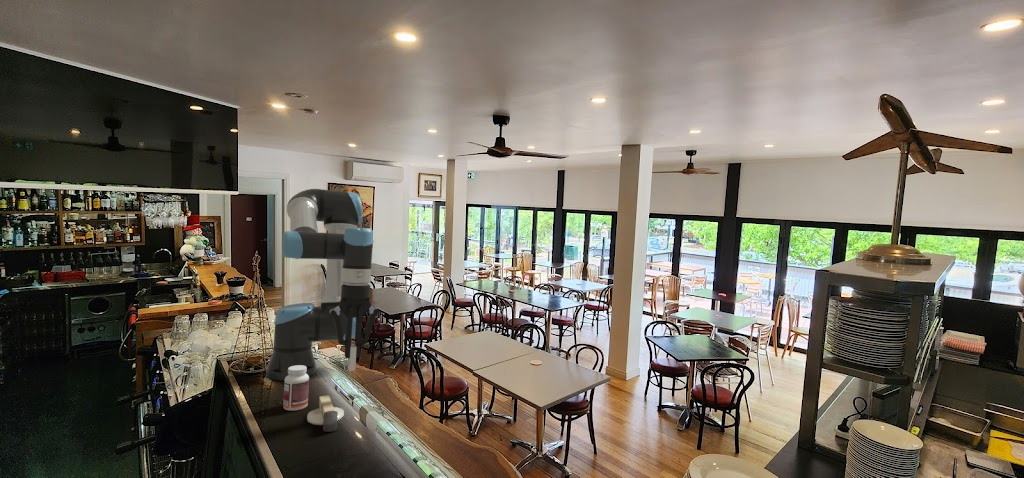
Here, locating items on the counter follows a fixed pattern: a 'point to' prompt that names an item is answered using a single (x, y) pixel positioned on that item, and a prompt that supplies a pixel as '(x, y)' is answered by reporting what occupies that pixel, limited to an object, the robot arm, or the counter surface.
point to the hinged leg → (328, 414)
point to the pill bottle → (296, 388)
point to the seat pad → (317, 417)
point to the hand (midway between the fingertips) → (351, 369)
